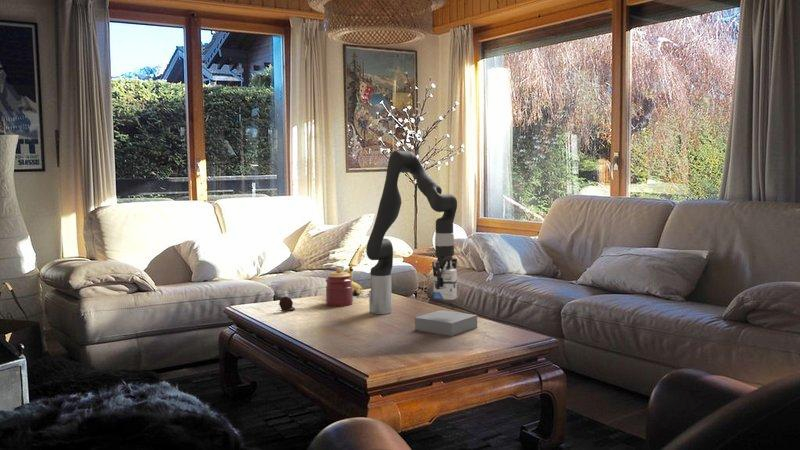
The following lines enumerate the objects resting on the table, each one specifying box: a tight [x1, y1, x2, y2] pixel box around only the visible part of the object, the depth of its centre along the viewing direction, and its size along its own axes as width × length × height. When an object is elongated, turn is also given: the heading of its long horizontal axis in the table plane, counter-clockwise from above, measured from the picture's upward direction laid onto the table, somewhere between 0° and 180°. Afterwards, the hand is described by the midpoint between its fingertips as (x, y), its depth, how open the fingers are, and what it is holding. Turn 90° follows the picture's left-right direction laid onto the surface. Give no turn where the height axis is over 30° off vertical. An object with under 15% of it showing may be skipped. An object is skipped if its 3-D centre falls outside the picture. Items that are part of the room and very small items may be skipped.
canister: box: [325, 267, 354, 307], centre depth 335 cm, size 13×13×18 cm
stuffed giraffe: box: [343, 265, 369, 299], centre depth 357 cm, size 16×18×16 cm
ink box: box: [433, 268, 458, 301], centre depth 280 cm, size 8×5×12 cm, turn 67°
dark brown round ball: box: [278, 296, 296, 312], centre depth 322 cm, size 8×8×7 cm
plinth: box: [414, 309, 478, 337], centre depth 281 cm, size 18×18×5 cm
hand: (445, 285), depth 280 cm, fingers closed on ink box, 5 cm apart
